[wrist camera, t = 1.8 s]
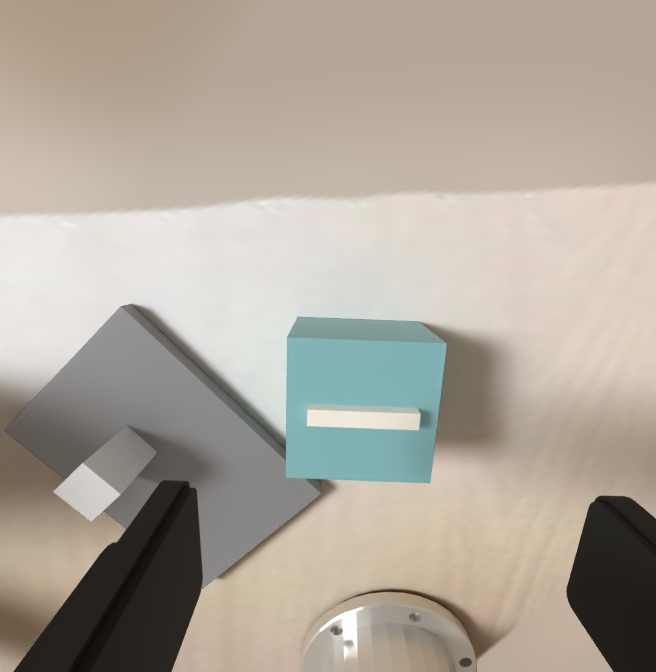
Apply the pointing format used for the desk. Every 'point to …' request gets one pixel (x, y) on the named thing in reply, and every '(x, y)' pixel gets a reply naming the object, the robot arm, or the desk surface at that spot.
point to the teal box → (362, 399)
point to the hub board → (159, 441)
